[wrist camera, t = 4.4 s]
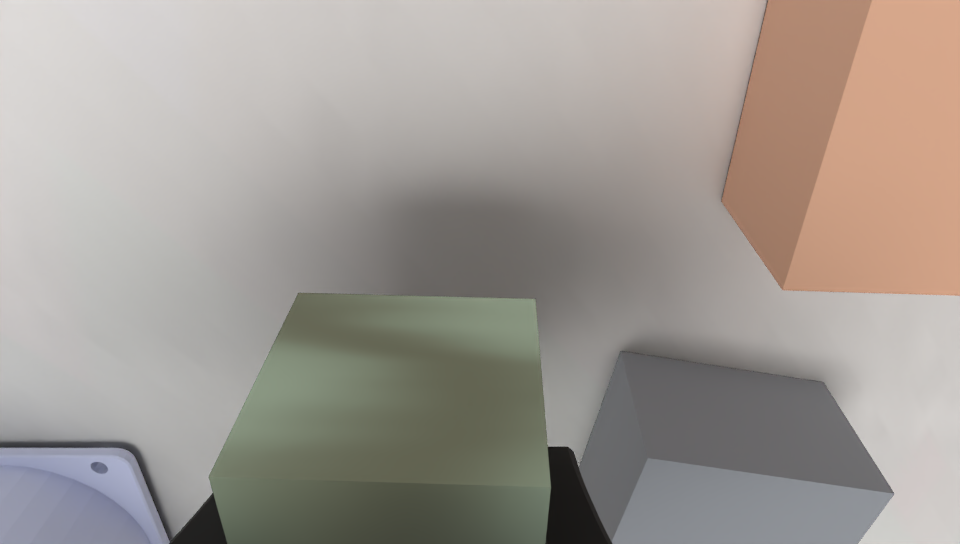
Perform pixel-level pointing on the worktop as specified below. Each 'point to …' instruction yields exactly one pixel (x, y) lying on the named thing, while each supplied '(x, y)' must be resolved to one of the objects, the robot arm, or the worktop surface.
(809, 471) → the slate brick
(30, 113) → the worktop surface
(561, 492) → the robot arm
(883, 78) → the terracotta brick
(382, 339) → the sage brick
